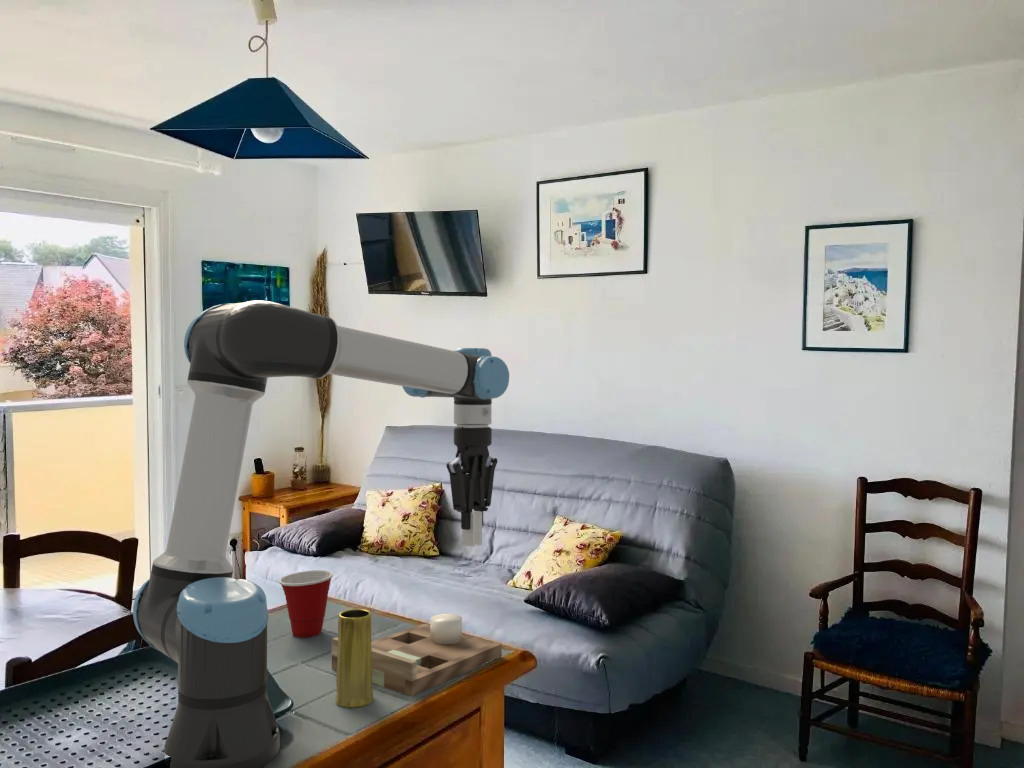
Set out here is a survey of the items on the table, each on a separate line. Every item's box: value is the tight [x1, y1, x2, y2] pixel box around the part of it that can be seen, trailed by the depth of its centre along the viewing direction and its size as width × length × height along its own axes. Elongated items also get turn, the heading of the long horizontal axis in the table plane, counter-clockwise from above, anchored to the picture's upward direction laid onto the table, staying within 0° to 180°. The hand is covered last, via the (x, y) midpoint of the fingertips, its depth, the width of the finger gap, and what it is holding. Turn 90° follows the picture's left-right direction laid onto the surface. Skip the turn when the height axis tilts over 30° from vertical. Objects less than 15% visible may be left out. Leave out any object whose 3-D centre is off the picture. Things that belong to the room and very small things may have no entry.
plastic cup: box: [278, 569, 334, 639], centre depth 166 cm, size 11×11×12 cm
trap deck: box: [331, 623, 503, 697], centre depth 150 cm, size 24×20×6 cm
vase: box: [334, 608, 375, 709], centre depth 132 cm, size 6×6×14 cm
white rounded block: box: [429, 613, 463, 644], centre depth 156 cm, size 6×6×4 cm
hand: (472, 544), depth 161 cm, fingers closed
